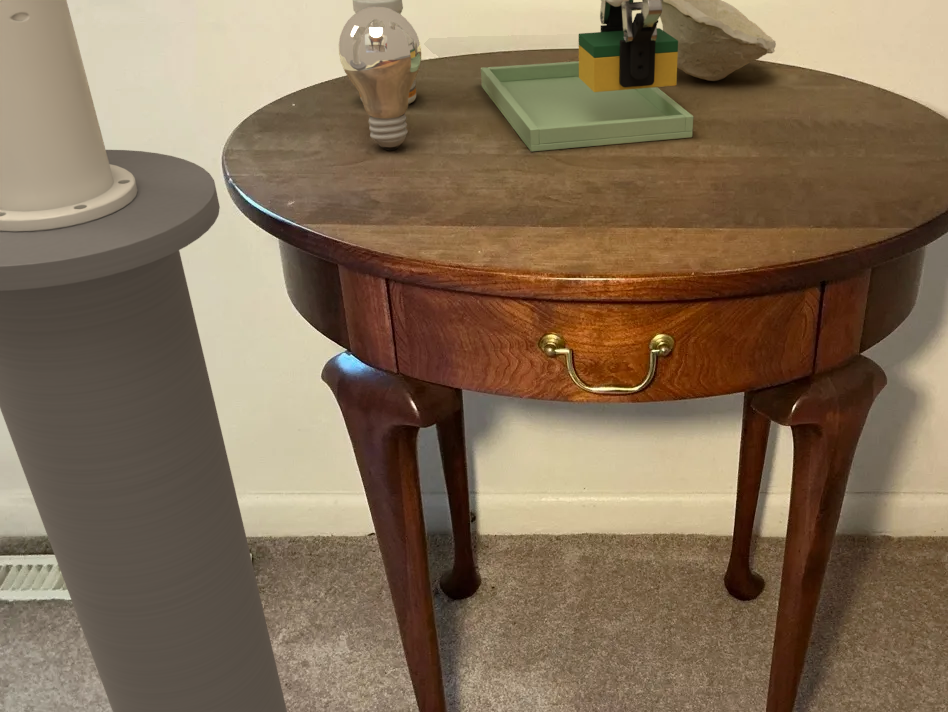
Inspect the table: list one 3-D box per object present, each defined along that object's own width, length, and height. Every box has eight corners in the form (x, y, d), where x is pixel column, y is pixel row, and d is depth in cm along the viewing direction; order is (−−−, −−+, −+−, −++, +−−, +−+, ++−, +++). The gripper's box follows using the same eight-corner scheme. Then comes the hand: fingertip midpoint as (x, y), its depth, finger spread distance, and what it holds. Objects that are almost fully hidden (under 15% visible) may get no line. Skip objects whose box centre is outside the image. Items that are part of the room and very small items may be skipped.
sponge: (593, 92, 95) (593, 46, 93) (578, 77, 99) (578, 33, 97) (676, 85, 97) (678, 40, 95) (658, 71, 101) (659, 27, 99)
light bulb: (445, 145, 96) (434, 5, 89) (392, 167, 91) (377, 20, 84) (388, 132, 99) (374, -5, 92) (334, 151, 94) (315, 9, 87)
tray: (530, 151, 95) (530, 129, 94) (481, 86, 112) (480, 67, 110) (692, 137, 99) (693, 116, 97) (621, 76, 116) (621, 58, 114)
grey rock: (781, 98, 110) (792, -5, 104) (647, 96, 109) (650, -7, 104) (763, 61, 122) (772, -33, 116) (643, 59, 122) (646, -35, 116)
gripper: (560, -155, 94) (563, 57, 104) (619, -135, 80) (616, 106, 91) (640, -157, 95) (635, 52, 106) (710, -137, 82) (697, 99, 92)
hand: (626, 74), depth 98 cm, fingers closed on sponge, 5 cm apart
